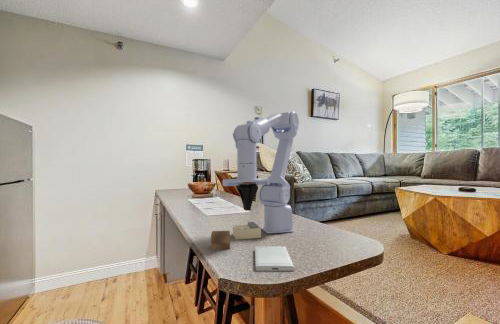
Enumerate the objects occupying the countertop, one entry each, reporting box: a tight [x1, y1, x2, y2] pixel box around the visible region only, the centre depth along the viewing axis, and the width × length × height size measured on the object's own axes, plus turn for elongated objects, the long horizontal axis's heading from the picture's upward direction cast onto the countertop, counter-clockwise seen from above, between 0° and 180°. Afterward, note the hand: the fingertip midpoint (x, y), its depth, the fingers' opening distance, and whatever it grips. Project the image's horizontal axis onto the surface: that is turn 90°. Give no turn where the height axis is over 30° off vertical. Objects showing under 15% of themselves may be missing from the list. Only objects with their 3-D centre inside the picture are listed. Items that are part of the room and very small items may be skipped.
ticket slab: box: [232, 221, 262, 240], centre depth 74 cm, size 8×6×4 cm
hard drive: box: [254, 245, 296, 272], centre depth 55 cm, size 2×8×12 cm
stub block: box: [210, 230, 231, 251], centre depth 64 cm, size 5×4×4 cm
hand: (247, 210), depth 68 cm, fingers closed
